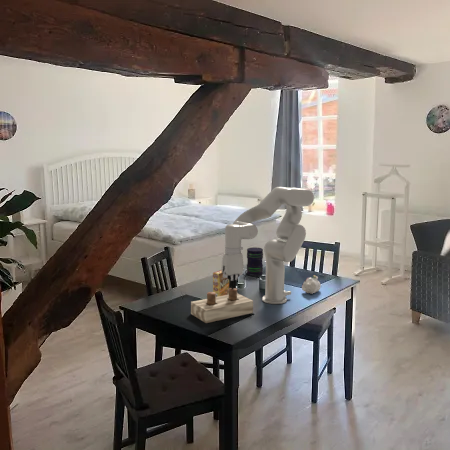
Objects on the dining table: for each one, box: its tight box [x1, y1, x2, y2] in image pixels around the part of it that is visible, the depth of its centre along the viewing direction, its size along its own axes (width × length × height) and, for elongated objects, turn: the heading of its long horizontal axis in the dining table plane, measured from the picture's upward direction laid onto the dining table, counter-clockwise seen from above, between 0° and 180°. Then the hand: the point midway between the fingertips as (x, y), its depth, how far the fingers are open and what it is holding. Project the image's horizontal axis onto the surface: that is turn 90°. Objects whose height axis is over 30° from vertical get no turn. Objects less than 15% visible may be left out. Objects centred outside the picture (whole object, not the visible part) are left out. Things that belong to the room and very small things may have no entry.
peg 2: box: [229, 287, 238, 301], centre depth 247 cm, size 4×4×6 cm
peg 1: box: [206, 291, 216, 306], centre depth 241 cm, size 4×4×6 cm
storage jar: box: [246, 246, 264, 276], centre depth 315 cm, size 10×10×15 cm
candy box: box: [212, 269, 230, 297], centre depth 264 cm, size 9×4×15 cm, turn 144°
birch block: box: [190, 292, 254, 324], centre depth 245 cm, size 14×26×6 cm, turn 122°
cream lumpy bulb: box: [301, 274, 322, 295], centre depth 277 cm, size 10×8×15 cm
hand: (232, 287), depth 247 cm, fingers closed
